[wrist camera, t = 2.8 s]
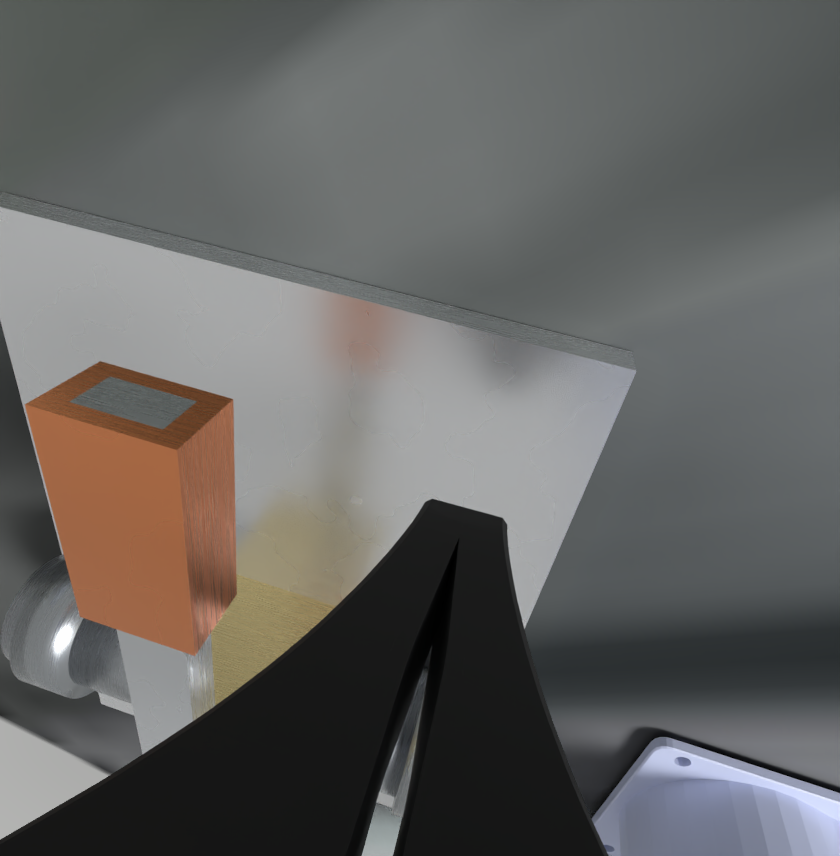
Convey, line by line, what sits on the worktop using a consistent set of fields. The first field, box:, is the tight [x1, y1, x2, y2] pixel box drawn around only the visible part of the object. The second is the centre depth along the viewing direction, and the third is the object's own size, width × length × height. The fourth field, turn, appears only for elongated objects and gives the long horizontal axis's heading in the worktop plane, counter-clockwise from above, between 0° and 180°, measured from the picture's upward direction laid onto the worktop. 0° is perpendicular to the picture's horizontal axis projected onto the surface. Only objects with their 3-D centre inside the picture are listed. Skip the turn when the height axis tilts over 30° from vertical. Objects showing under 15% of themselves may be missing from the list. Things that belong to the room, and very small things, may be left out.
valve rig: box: [0, 192, 636, 817], centre depth 17 cm, size 16×22×6 cm
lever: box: [25, 361, 237, 755], centre depth 12 cm, size 14×3×1 cm, turn 170°
